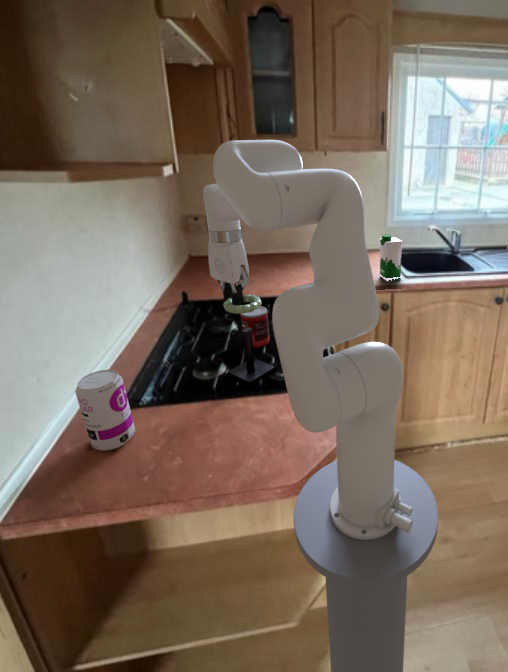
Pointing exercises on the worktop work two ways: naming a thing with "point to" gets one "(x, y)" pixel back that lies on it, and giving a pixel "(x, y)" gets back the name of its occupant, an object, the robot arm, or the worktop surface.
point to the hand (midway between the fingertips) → (234, 304)
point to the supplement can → (105, 409)
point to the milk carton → (390, 257)
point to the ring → (244, 308)
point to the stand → (250, 363)
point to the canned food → (257, 326)
